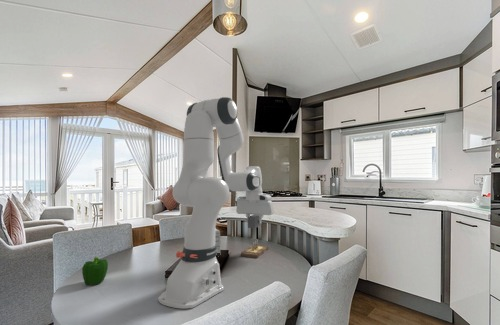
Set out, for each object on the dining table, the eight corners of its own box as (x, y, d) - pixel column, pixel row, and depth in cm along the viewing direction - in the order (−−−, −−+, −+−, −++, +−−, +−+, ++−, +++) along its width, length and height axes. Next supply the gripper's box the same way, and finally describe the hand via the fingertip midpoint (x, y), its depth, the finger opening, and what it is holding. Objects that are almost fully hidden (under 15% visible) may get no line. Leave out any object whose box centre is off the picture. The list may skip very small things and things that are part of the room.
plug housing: (255, 228, 121) (254, 217, 122) (247, 227, 123) (247, 216, 123) (261, 224, 129) (261, 214, 130) (254, 224, 131) (254, 214, 131)
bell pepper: (85, 280, 94) (85, 254, 94) (109, 277, 97) (109, 251, 97) (78, 289, 86) (79, 260, 87) (104, 285, 89) (105, 257, 90)
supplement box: (202, 254, 124) (202, 229, 125) (216, 252, 127) (216, 228, 128) (206, 258, 117) (206, 232, 118) (220, 256, 120) (220, 230, 121)
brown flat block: (257, 257, 116) (257, 245, 116) (240, 255, 120) (240, 244, 120) (268, 248, 131) (268, 238, 131) (253, 247, 134) (253, 236, 135)
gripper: (234, 196, 128) (234, 223, 127) (270, 197, 120) (271, 225, 119) (239, 196, 134) (239, 221, 133) (274, 196, 126) (274, 223, 125)
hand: (254, 223), depth 126 cm, fingers closed on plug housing, 4 cm apart
